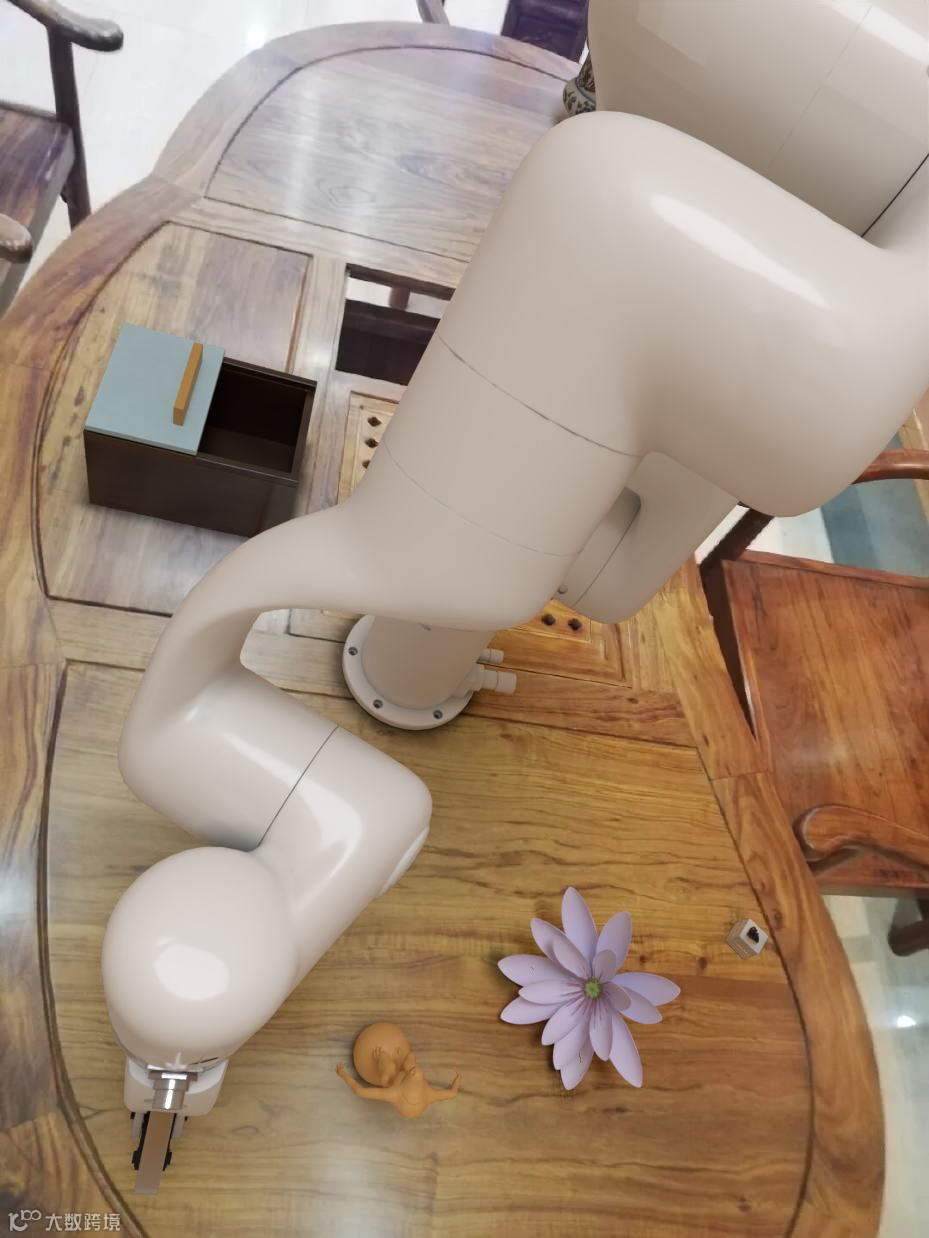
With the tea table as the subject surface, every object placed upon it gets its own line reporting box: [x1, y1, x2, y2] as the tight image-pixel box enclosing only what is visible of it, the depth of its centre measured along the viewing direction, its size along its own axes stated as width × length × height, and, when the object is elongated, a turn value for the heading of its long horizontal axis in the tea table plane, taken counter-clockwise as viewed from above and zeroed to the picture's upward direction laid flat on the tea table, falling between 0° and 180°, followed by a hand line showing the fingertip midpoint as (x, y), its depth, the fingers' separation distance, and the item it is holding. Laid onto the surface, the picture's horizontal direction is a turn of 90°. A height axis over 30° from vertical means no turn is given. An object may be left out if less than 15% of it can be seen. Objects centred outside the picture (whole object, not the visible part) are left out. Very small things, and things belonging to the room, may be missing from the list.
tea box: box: [82, 356, 318, 539], centre depth 77 cm, size 13×18×10 cm
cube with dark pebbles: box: [724, 918, 769, 960], centre depth 73 cm, size 2×2×2 cm
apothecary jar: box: [562, 33, 596, 118], centre depth 130 cm, size 12×12×18 cm
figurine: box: [334, 1021, 463, 1120], centre depth 55 cm, size 8×6×12 cm
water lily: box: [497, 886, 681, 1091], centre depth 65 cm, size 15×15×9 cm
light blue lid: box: [84, 321, 226, 455], centre depth 71 cm, size 13×9×3 cm
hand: (175, 1028), depth 55 cm, fingers open, 9 cm apart
